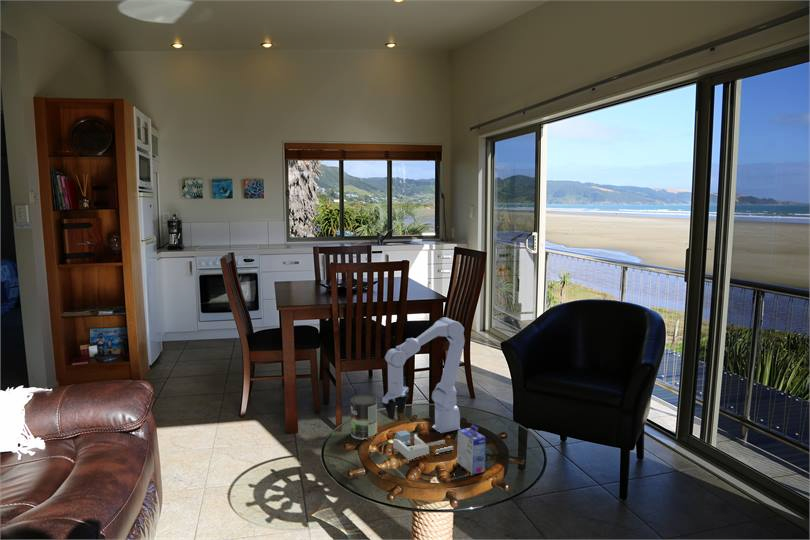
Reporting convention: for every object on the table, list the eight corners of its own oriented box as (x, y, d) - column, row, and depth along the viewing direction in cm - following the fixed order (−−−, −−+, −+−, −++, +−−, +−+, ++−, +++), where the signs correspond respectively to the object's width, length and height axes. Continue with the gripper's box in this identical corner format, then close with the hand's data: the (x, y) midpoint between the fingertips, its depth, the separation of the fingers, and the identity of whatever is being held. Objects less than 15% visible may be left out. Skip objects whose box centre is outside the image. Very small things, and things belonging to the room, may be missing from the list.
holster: (443, 444, 213) (443, 439, 212) (453, 452, 207) (453, 446, 206) (427, 448, 210) (426, 443, 209) (436, 456, 203) (436, 450, 203)
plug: (406, 442, 215) (405, 430, 214) (411, 448, 211) (411, 435, 210) (396, 444, 213) (396, 432, 213) (401, 450, 209) (401, 437, 208)
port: (416, 444, 214) (416, 432, 213) (431, 456, 203) (431, 444, 203) (392, 449, 209) (392, 438, 209) (406, 462, 199) (406, 450, 199)
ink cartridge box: (486, 471, 192) (486, 430, 190) (472, 475, 190) (472, 434, 188) (469, 459, 201) (470, 420, 199) (456, 463, 198) (456, 423, 196)
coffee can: (355, 441, 216) (354, 405, 214) (347, 431, 226) (347, 396, 224) (381, 437, 220) (380, 402, 218) (372, 427, 230) (372, 393, 228)
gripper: (393, 388, 207) (393, 424, 208) (415, 377, 219) (415, 411, 220) (377, 385, 211) (378, 420, 212) (399, 374, 222) (400, 407, 224)
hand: (396, 415), depth 217 cm, fingers open, 6 cm apart
